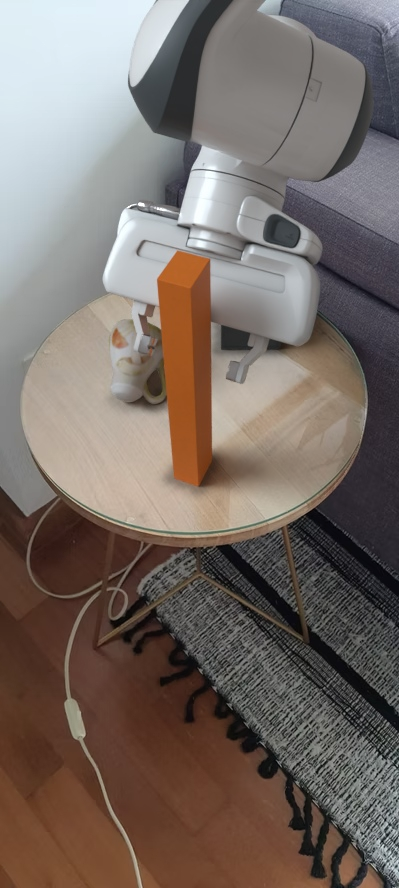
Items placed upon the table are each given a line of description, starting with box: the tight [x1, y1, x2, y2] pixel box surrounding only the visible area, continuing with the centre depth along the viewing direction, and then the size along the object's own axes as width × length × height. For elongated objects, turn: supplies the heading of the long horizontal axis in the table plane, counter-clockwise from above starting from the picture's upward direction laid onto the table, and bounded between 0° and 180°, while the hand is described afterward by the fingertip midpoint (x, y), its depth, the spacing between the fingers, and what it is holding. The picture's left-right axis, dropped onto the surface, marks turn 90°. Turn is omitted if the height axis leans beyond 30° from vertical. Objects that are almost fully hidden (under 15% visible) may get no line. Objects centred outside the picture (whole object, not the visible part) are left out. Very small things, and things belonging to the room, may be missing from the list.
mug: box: [108, 318, 167, 405], centre depth 85 cm, size 8×10×10 cm
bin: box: [220, 325, 282, 351], centre depth 89 cm, size 8×8×6 cm
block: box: [157, 251, 213, 487], centre depth 67 cm, size 3×4×28 cm
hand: (187, 367), depth 65 cm, fingers open, 8 cm apart
